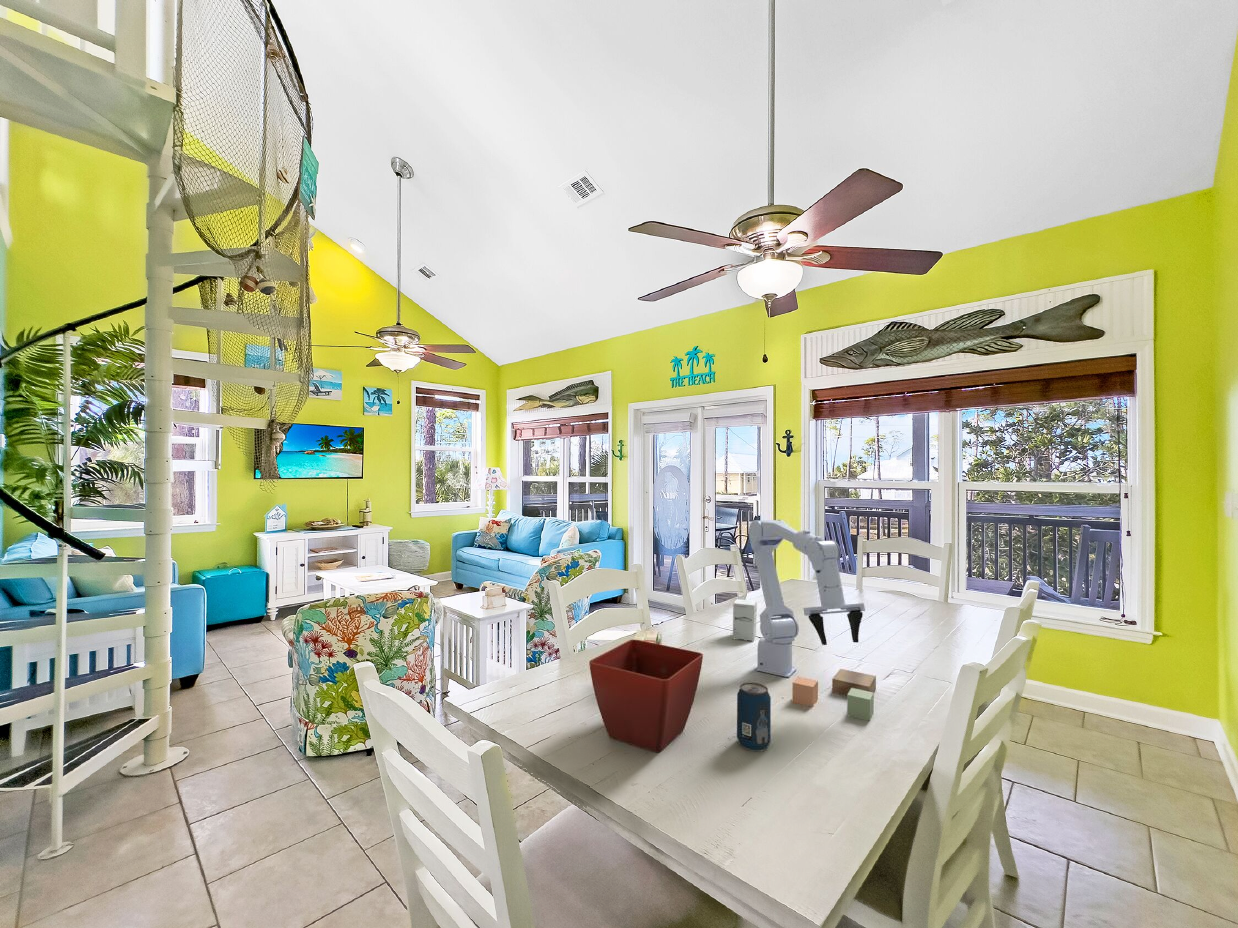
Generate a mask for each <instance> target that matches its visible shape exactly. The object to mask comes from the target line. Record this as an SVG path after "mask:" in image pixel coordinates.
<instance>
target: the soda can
mask: <svg viewBox="0 0 1238 928" xmlns="http://www.w3.org/2000/svg"><path fill="white" fill-rule="evenodd" d="M738 689H739V690H738V692H737V694H736V696H737V697H736V698H737V699H736V701H737V702H736V738H737V741H738V742H739V744H740V746H741V747H742V748H744V749H745V750H747V751H751V750H754V751H753V752H762V751H764V750H766V749H767V748H768V746H769V745H770V744H771V733H772V732H771V731H772V730H771V726H772V725H771V720H772V719H771V718H772V717H771V716H772V715H771V711H772V710H771V705H772V704H771V702H772V701H771V700H772V699H771V694H770V692H769V689H768V687H767V686H766V685H764V684H761V683H758V682H744V683H741V684H740V686H739V688H738ZM761 750H762V751H761Z"/></svg>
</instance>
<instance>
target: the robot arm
mask: <svg viewBox="0 0 1238 928" xmlns="http://www.w3.org/2000/svg"><path fill="white" fill-rule="evenodd" d="M747 533H748V539H749V542H750V546H751V550H753V554H754V559H755V562H756V566H757V572H758V576H759V577H758V578H759V580H760V581H759V582H760V585H761V586H760V587H761V590H762V595H763V599H764V602H765V608H764V610H763V611H761V613H760V614H759V621H760V625H759V630H760V634H761V636H762V637H760V638H759V640H758V643H757V661H756V662H757V668H756V671H758V672H762V673H767V674H770V675H772V674H773V675H775V676H780V677H786V678H790V677H791V676H792V675H793V674H794V673H795V672H796V670H797V667H795V666H793V642H795V638H797V636H798V635H799V631H800V626H799V623H798V620H797V619H796V617H795V615H794V611H793V610H792V609H791V608H789V607H788V606H786V605H785V602H784V598H783V594H782V590H781V585H780V580H779V576H778V572H777V568H776V563H775V560H774V555H773V552H774V551H775V549H777V548H778V547H779V546H780V545H781V543H782V542H783V541H784V540H785V541H788V542H790V543H792V546H793V548H794V549H795V550H796V551H798V552H800V553H802V554H804V555H806V556H807V558H808V560H809V562H810V563H811V566H812V569H813V570H814V571H815V576H816V577H815V578H816V584H817V588H818V593H819V599H820V606H810V607H809V606H808V607H803V608H802V609H803V613H804V614H803V615H804V616H805V617H808V620H809V621H810V622H811V624H812V626H813V627H814V629H815V631H816V633H817V635H818V637H819V640H820V642H821V645H822V646H827V644H828V643H827V638H826V637H827V636H826V633H825V625H824V624H825V623H824V617H823V615H827V614H828V615H829V614H841V613H847V614H846V617H847V619H848V622H849V626H850V627H849V628H850V632H851V633H850V634H851V640H852V642H853V643H859V634H860V633H859V632H860V626H861V622H862V619H863V617H864V614H863V612H865V611H866V608H865V607H866V606H865V603H864V602H859V603H848V604H846V601H845V595H844V591H843V587H842V586H843V585H842V580H841V573H840V569H839V564H838V563H839V561H840V558H841V556H842V555H841V547H840V546H839V544H838V542H837V541H835V540H834V539H828V540H825V539H823V537H821V536H820V535H817V536H816V535H814V534H813V533H811V530H809V529H803V530H800V531H798V530H796V529H794V528H793V527H791V526H790V525H788V524H787V522H786V521H783V520H781V519H772V520H771V519H770V520H765V519H764V520H763V519H762V520H757V519H754V520H752V521H751V523H750V524H749V527H748V530H747ZM835 609H838V610H835ZM839 609H840V610H839ZM828 610H832V611H828ZM833 610H835V611H833Z"/></svg>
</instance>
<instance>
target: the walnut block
mask: <svg viewBox="0 0 1238 928" xmlns="http://www.w3.org/2000/svg"><path fill="white" fill-rule="evenodd" d="M831 681H832V683H831V686H832V687H831V689H832V690H831V691H832V692H831V693H832V694H837V695H840V696H844V695H845V697H847V694H848V693H849V691H850V690H851V688H854V689H859V690H864V691H868V692H873V693H874V694H875V692H876V691H877V676H876V675H874V674H868V673H863V672H858V671H853V670H848V669H844V668H839V670H838V671H837V672H836V674H835V675H834V676H833V677H832V679H831ZM875 690H876V691H875Z"/></svg>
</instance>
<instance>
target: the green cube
mask: <svg viewBox="0 0 1238 928" xmlns="http://www.w3.org/2000/svg"><path fill="white" fill-rule="evenodd" d="M874 698H875V692H874V693H873V692H868V691H864V690H859V689H854V688H851V690H850V691H849V693H848V694H847V696H846V699H847V701H846V702H847V703H846V705H847V706H846V707H847V708H846V709H847V710H846V711H847V713H846V714H847V715H846V716H848V715H849V717H852V716H853V717H852V718H856V717H858V718H857V719H860V720H864V719H865V720H864V721H868V720H870V721H871V719H872V718H871V717H873V716H872V715H874V712H875V710H874V709H875V708H874V706H875V705H874V703H875V699H874Z"/></svg>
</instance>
